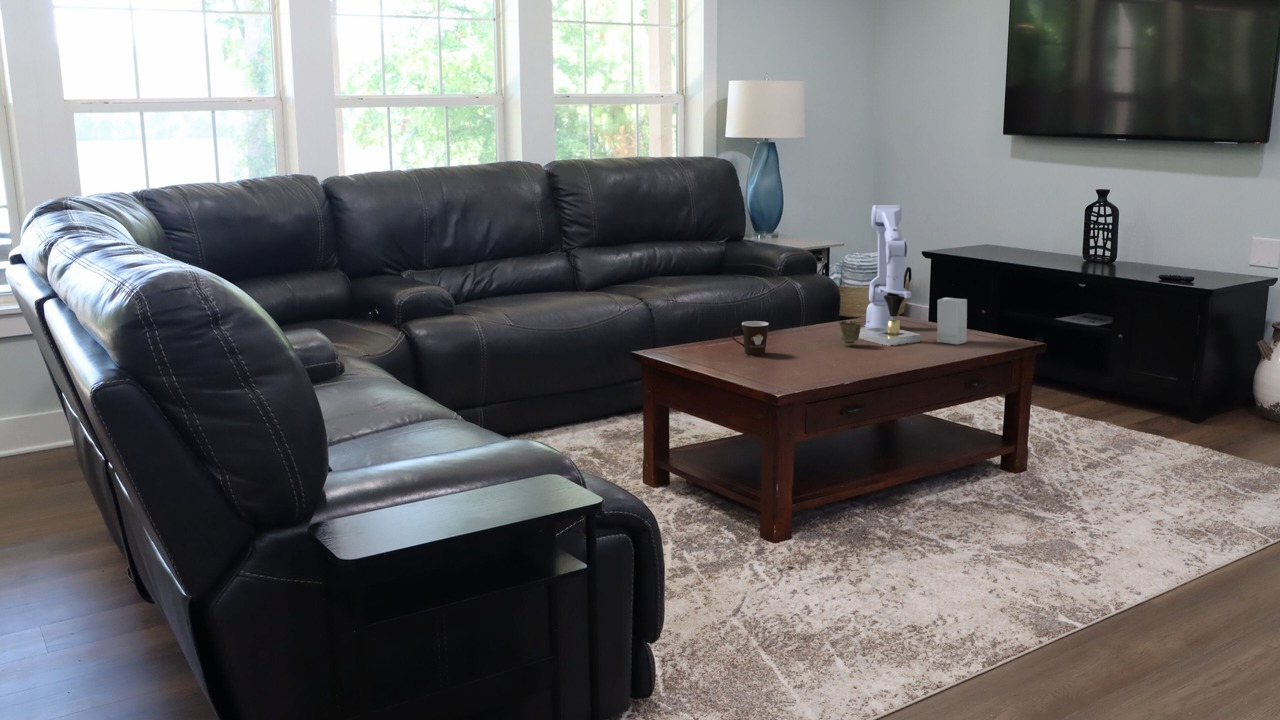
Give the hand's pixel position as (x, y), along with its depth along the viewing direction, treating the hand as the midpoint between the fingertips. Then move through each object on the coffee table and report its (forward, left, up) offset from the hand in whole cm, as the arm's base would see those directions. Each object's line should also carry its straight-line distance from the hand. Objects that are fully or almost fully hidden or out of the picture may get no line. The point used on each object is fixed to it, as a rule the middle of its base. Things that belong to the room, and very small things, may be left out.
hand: (893, 316), depth 370 cm
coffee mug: (-8, -53, -9) cm, 54 cm away
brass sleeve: (0, 0, -9) cm, 9 cm away
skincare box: (+12, +15, -9) cm, 21 cm away
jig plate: (-4, 0, -8) cm, 9 cm away
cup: (-1, -18, -9) cm, 20 cm away
